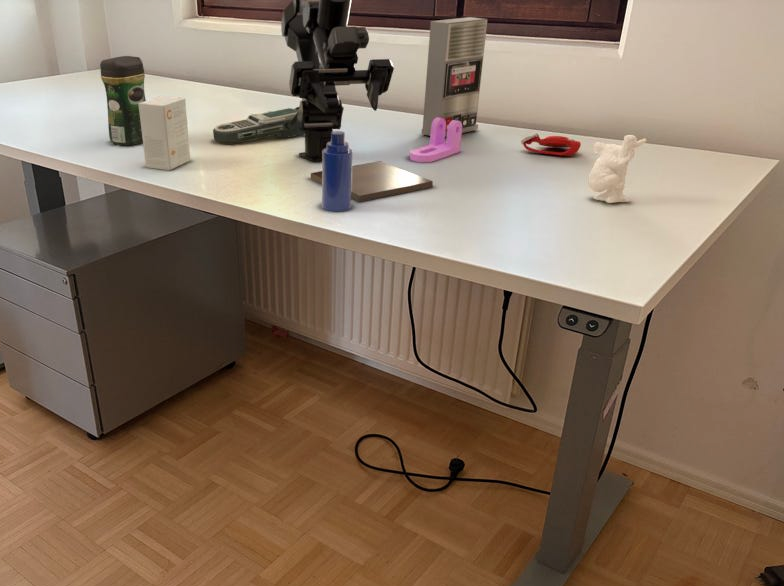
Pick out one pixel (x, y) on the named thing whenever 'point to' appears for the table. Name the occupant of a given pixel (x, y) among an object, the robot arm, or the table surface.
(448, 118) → the cassette tape recorder
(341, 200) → the blue bottle
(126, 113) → the coffee jar
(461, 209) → the table surface
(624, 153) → the white crouching figurine
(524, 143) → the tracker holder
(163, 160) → the small box
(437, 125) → the bracket
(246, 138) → the communication device
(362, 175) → the walnut board
